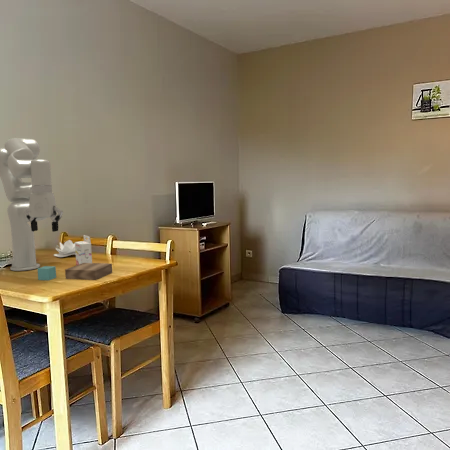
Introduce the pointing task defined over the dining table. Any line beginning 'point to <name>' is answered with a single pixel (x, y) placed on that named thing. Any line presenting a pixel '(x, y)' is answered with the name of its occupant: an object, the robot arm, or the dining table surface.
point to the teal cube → (47, 273)
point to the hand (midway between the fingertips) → (44, 231)
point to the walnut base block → (88, 271)
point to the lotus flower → (66, 249)
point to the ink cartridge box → (83, 251)
